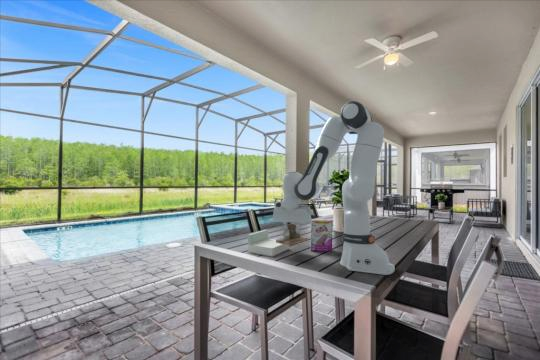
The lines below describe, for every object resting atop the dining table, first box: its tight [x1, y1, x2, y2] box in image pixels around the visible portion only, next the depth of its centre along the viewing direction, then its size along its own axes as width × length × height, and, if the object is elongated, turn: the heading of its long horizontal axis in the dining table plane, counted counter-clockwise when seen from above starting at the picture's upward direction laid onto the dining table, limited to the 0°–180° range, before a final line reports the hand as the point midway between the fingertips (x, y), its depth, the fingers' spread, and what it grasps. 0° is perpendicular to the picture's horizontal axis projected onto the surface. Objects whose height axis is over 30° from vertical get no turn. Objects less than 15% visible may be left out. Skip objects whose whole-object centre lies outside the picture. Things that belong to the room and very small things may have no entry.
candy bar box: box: [310, 218, 334, 253], centre depth 141 cm, size 11×5×16 cm, turn 84°
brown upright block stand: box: [275, 223, 308, 246], centre depth 133 cm, size 9×14×8 cm, turn 137°
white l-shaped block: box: [247, 229, 290, 257], centre depth 140 cm, size 15×17×9 cm
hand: (291, 231), depth 133 cm, fingers closed on brown upright block stand, 3 cm apart
